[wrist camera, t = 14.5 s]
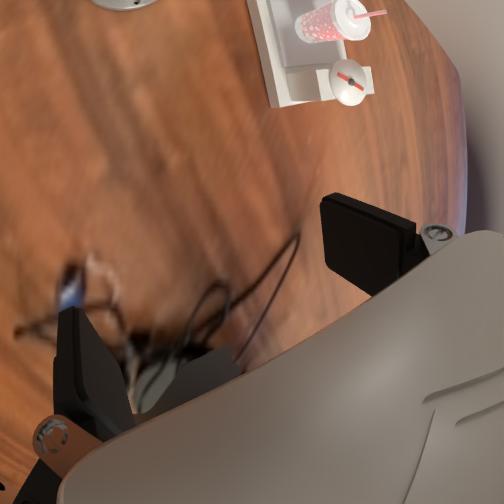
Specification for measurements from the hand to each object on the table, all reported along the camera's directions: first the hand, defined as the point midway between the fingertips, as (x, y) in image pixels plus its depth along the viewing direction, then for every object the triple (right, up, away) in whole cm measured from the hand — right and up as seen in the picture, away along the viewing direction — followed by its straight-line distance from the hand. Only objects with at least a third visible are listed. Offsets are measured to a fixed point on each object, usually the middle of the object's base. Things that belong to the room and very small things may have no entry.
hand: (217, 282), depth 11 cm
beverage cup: (+9, +32, +24) cm, 41 cm away
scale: (+8, +31, +28) cm, 43 cm away
